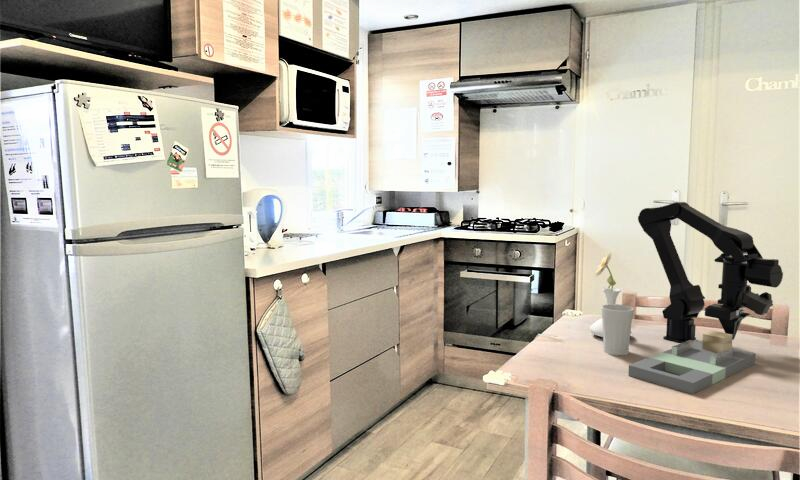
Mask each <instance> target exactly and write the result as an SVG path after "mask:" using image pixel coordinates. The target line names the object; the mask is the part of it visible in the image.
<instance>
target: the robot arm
mask: <svg viewBox="0 0 800 480" xmlns="http://www.w3.org/2000/svg"><path fill="white" fill-rule="evenodd" d="M676 219H678V220H679V221H681V222H683V223H684V224H687V225H688V226H689V227H691V228H692V229H694V230H696V231H697V232H699V233H701V234H702V235H704V236H706V237H707V238H708V239H710V240H711V242H713V244H714V246H715V247H716V248H717V249H718V250H719V251H720V252H722V253H721V254H720V255H719V256H718V257H716V258H715V259H714V262H716V263H722V271H721V283H718V287H717V288H718V289H721V293H720V299H717V303H713V304H710V305H707V306H706V307H705V299H706V297H705V296H704V294H703V292H702V287H701V286H700V285H699V284H696V285H694V284H692V283H691V281H690V280H689V278H688V276H687V274H686V273H687V272H686V271H685V268H684V265H683V263H682V259H680V256H679V254H678V251H677V248H676V246H675V243H674V241H673V237H672V236H671V229H672V221H673V220H676ZM637 221H638V223H639V225H640V226H641V228H642V231H643V232H644V233H645V234H646V235H647V236H649V238H650V239H651V240H652V242H653V245H654V246H655V249H656V252H657V255H658V257H659V260H660V262H661V265H662V267H663V270H664V273H665V275H666V278H667V280H668V283H669V286H670V289H669V297H668V299H669V301H670V303H669V305H667V306H666V307H665V308H664V309H662V311H661V312H662V315H663V318H664V319H666V331H665V332H666V335H665V336H664V335H663V337H662V338H663V339H665V340H668V341H669V340H670V341H673V342H677V343H683V342H686V341H688V340H693V341H694V340H696V341H697V337H696V325H695V319H696V318H698V317H699V314H700V313H701V312H702V311H703V309H704V316H705V317H709V318H714V319H718V321H719V323H720V324H721V327H722V329H723V331H724V333H727V334H732V335H733V336H732V341H734V340H735V337H736V335H737V332H738V330H739V327H740V325H741V323H742V320H744V319H745V318H747V317H749V316H750V315H751V313H748V312H745V310H744V309H745V308H746V309H748V310H750V311H752V312H754V314H757V315H759V316H763V315H765V314H767V313H769V311H770V309H771V307H773V306H774V304H773V302H774V301H773V298H772V294H771V293H769V292H767V291H765V292H763V293H760V294H759V293H758V292H757V293H755V292H752V287H751V285H758V286H762V287H769V288H777V287H779V286H780V285H781V283H782V281H783V277H784V272H783V270H782V267H781V265H780V263H779V261H780V260H779V259H775V258H764V257H763V256H762V254H761V252H760V251H759V249H758V248H757V246H756V245H755V243H754V238H753V236H752V235H751V234H750V233H748V232H745V231H743V230H740V229H737V228H733V227H730V226H726V225H723V224H721V223H720V222H718V221H716V220H714V219H713V218H711V217H709V216H708V215H706V214H704V213H702V212H701V211H699V210H697V209H696V208H695V207H692V206H691V205H690V204H688V203H687V202H685V201H679V202H678V201H675V202H672V203H669V204H666V205H663V206H658V207H646V208H645V207H644V208H643V209H641V210H640V211H639V214H638V216H637ZM748 283H750V285H749V284H748Z"/></svg>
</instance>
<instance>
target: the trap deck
mask: <svg viewBox="0 0 800 480" xmlns="http://www.w3.org/2000/svg"><path fill="white" fill-rule="evenodd" d="M693 341H695V344H694V349H692V350H689V351H687V352H684V353H682V354H679V355H677V356H676V355H672V348H670V349H667V350H665V351H662V352H660V353H658V354H657V353H656V354H655V355H652V356H649V357H647V358H644V359H641V360H639V361H636V362H633V363H631V364H628V375H629V377H632V378H637V379H639V380H643V381H646V382H649V383H653V384H657V385H659V386H663V387H666V388H670V389H673V390H676V391H680V392H683V393H688V394H690V395H694V394H696V393H697V392H700V391H702V390H704V389H706V388H708V387H710V386H712V385H715V384H717V383H718V382H720V381H722V380H724V379H726V378H728V377H730V376H732V375H735V374H736V373H739V372H740V371H743V370H744V369H746V368H748V367H750V366H752V365H755V364H756V357H757V356H756V355H757V354H756V353H755V352H750V351H746V350H741V349H738V348H733V347H732V349H733V356H732V358H730V359H728V360H726V361H723V362H721V363H719V364H717V365H713V364H710V356H711V355H713V354H715V353H717V352H712V351H708V350H703V349H702V342H703V341H699V340H697V339H696V340H693Z"/></svg>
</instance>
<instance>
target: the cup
mask: <svg viewBox="0 0 800 480" xmlns="http://www.w3.org/2000/svg"><path fill="white" fill-rule="evenodd" d="M600 307H601V318H602V324H603V337H602V339H603V341H602V343H603V344H602V345H603V347H602V349H603V353H605V354H607V353H608V354H607V355H610V354H611V355H610V356H618V355H622V356H626V355H629V354H630V353H629V351H630V349H629V348H630V338H631V334H630V332H631V333H632V323H633V316H634V309H635V308H634V307H632V306H630V305H627V304H625V305H624V304H618V303H617V304H616V303H615V304H607V303H606V304H603V305H601V306H600Z"/></svg>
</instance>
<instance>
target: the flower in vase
mask: <svg viewBox="0 0 800 480" xmlns="http://www.w3.org/2000/svg"><path fill="white" fill-rule="evenodd" d="M611 258H612V252H611V251H610V252H606V254H605V256H603V257H602V260H601V263H600V264H598V265H597V267H596V268H597V270H595V272H594V275H595V276H594V277H598V276H600V275H601V274H602V273H603V272H604V271H605V269H607V271H608V272H609V276H608V278H607V279H606V282H607V283H608V284H609V285H608V287H604V288H602V291H603V293H604V295H605V298H606V305H607V304H616V302H617V298H618V296H619V293H621V292H622V289H620V288H614V286H616V284H617V282H616V281H615V279H614V278H613V274H612V272H611V270H610V268H609V266H608V264H609V262H610V260H611ZM589 331H590V333H591V334H593V335H595V336H598V337H601V338H603V324H602V317H601V318H600V319H598V320H596V321H595V322H593V324H591V326H590V327H589ZM631 334H632V331H631V332H630V335H631Z"/></svg>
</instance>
